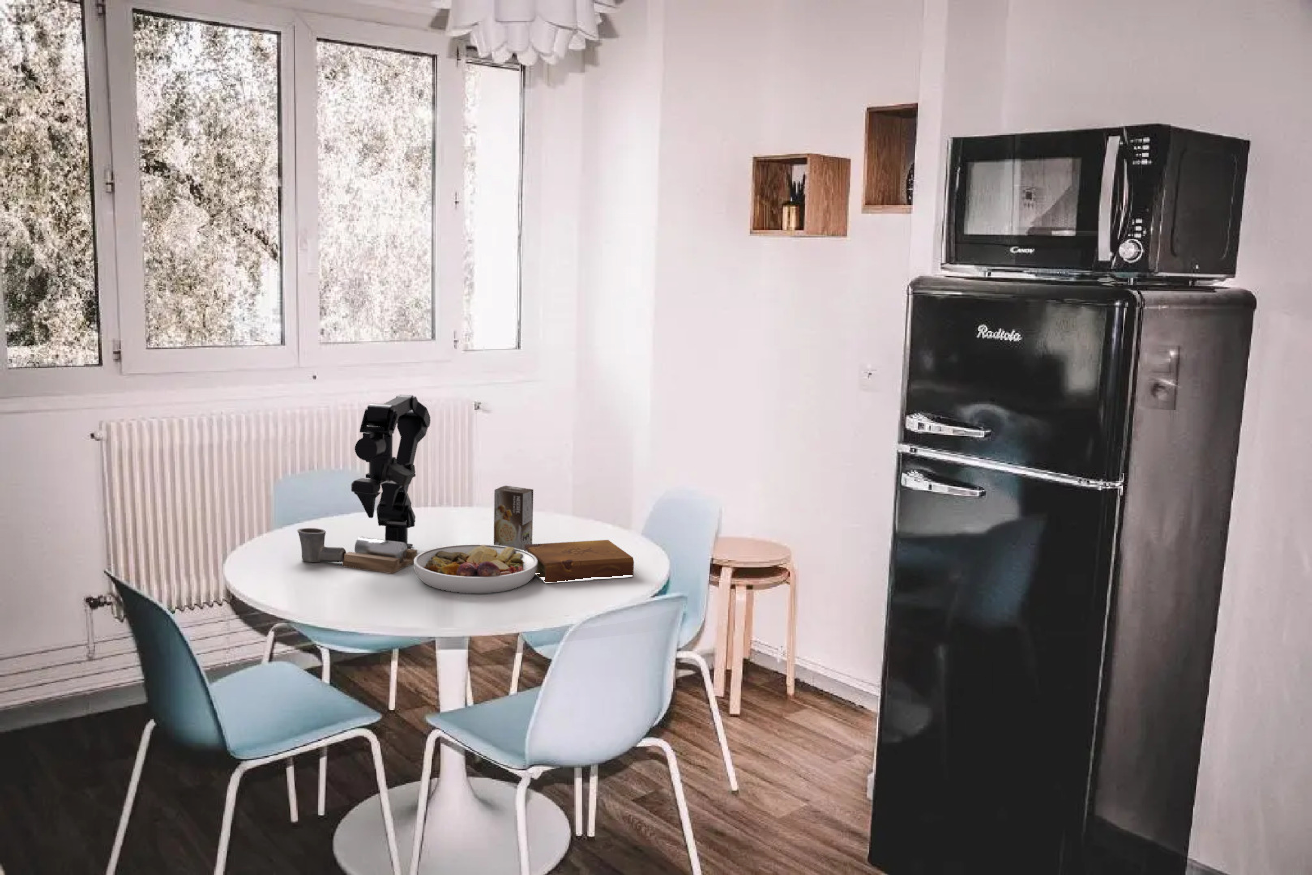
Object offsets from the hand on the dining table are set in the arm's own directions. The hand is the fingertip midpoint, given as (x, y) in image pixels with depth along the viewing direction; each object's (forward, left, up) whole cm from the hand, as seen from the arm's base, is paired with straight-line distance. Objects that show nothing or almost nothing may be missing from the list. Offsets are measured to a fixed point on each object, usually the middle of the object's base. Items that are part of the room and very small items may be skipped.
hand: (380, 514), depth 300 cm
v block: (+3, +2, -12) cm, 13 cm away
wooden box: (-13, +49, -13) cm, 52 cm away
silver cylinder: (+3, +2, -8) cm, 9 cm away
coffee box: (-27, +25, -12) cm, 39 cm away
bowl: (+4, +29, -12) cm, 32 cm away
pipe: (+8, -12, -12) cm, 19 cm away
